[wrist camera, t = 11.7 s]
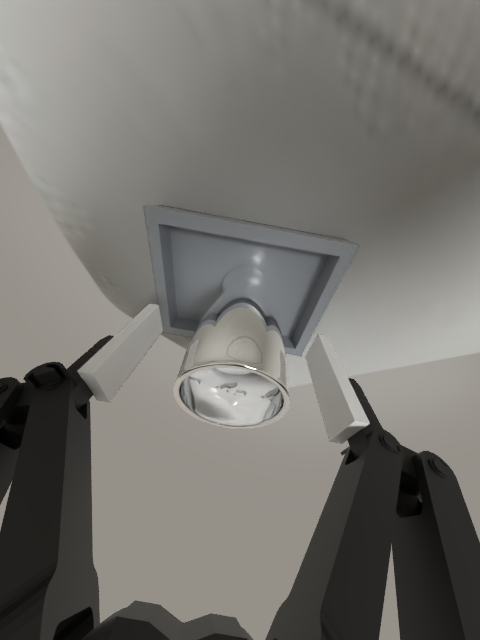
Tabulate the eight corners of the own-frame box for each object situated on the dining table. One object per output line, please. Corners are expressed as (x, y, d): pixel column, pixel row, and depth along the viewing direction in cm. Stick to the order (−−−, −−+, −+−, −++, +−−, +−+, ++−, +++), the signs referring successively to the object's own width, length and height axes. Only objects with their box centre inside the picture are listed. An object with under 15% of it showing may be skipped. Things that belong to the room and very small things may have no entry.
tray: (343, 238, 18) (359, 245, 16) (296, 339, 27) (300, 356, 24) (161, 205, 18) (143, 206, 15) (172, 318, 27) (162, 332, 24)
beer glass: (275, 308, 23) (295, 430, 11) (225, 315, 24) (194, 430, 12) (270, 257, 19) (293, 354, 7) (211, 267, 20) (144, 365, 8)
